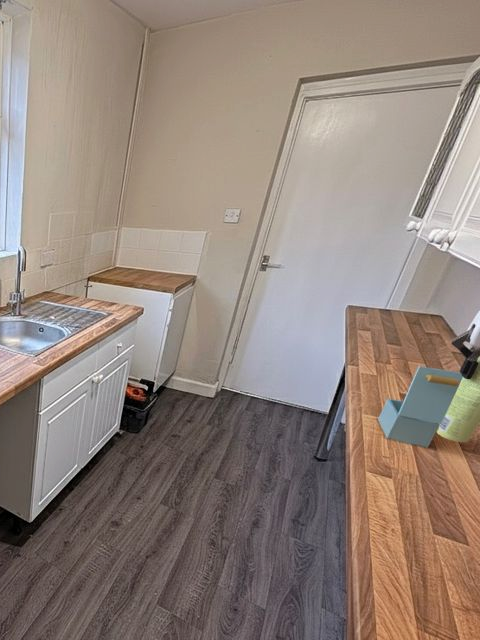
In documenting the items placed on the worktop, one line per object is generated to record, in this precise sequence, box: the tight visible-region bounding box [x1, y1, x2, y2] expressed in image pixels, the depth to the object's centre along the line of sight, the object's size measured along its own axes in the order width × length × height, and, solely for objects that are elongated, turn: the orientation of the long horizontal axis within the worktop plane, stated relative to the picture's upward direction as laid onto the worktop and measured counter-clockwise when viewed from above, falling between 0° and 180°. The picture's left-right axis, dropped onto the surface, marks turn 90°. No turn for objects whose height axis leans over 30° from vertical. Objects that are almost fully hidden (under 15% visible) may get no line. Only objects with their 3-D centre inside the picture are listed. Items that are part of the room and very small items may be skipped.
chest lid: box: [398, 365, 463, 425], centre depth 107 cm, size 14×8×5 cm
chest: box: [377, 398, 440, 449], centre depth 117 cm, size 13×8×8 cm, turn 146°
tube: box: [436, 357, 480, 443], centre depth 90 cm, size 6×5×20 cm
